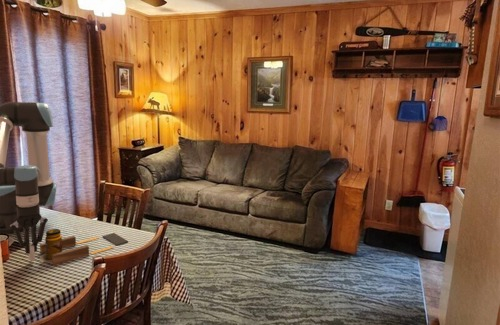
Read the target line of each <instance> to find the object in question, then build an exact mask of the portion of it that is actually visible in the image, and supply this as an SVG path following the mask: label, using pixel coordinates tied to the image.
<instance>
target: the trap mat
mask: <svg viewBox="0 0 500 325" xmlns="http://www.w3.org/2000/svg"><path fill="white" fill-rule="evenodd" d="M102 238H103V239H105V240H106V241H108V242H110V243H111V244H113V245H114V246H121V245H124V244H127V243H129V241H128V240H127V239H125V238H124V237H122V236H120V235H119V234H117V233H115V232H113V233H109V234H105V235H102Z"/></svg>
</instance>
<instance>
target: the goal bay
mask: <svg viewBox="0 0 500 325" xmlns="http://www.w3.org/2000/svg"><path fill="white" fill-rule="evenodd" d="M98 239H100V238H99V237H98V236H95V237H92V238H87V239H84V240H79V241H76V245H79V244H84V243H87V242H90V241H91V242H92V241H95V240H98ZM113 249H114V246H107V247H105V248H101V249H97V250H94V251H91V252H90V251H89V255H95V254H98V253H103V252H105V251H108V250H113Z"/></svg>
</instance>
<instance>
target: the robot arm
mask: <svg viewBox="0 0 500 325" xmlns="http://www.w3.org/2000/svg"><path fill="white" fill-rule="evenodd" d="M53 126H54V123H53V116H52V112H51V108H50V106H49V105H48V104H47V103H44V102H29V101H28V102H27V101H25V102H23V101H19V102H18V101H8V102H7V101H6V102H4V103H2V104H0V234H1V235H2V234H4V235H5V234H13V233H14V235H15V237H16V239H17V242H18V244H19V246H20V247H24V251H25V254H27V255H28V256H27V257H28V260H29V261H30V263H31V262H35V261H36V256H35V253H36V252H38V244H39V243H41V242H42V241H43V238H44V233H45V227H46V224H47V223H48V221H49V219H48V218H47V217H44V216H42V214H41V209H40V207H48V206H49V207H50V206H53V205H54V204H55V202H56V193H57V183H54V179H52V178H51V177H50V165H49V151H48V136H47V134H48V133H49V132H50V130H51V128H53ZM14 127H19V128H20V127H21V131H22V132H24V133H25V134H26V136H25V137H26V146H27V159H28V165H25V164H24V165H18V166H14V167H11V166H10V167H6V161H7V156H8V155H7V154H8V146H9V139H10V132H11V131H12V130H13V129H14ZM38 223H39V226H38V232H37V225H38ZM21 231H23V237H22V235H21ZM30 236H31V243H30Z"/></svg>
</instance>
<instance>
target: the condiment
mask: <svg viewBox="0 0 500 325" xmlns="http://www.w3.org/2000/svg"><path fill="white" fill-rule="evenodd" d="M62 239H63V237H62V235H61V229H59V228H51V229H49V230H47V231H46V232H45V238H44V243H46V253H45V254H41V255H40V257H39V258H40V264H43V263H47V262H52V254H56V253H60V252H63V249H62Z"/></svg>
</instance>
